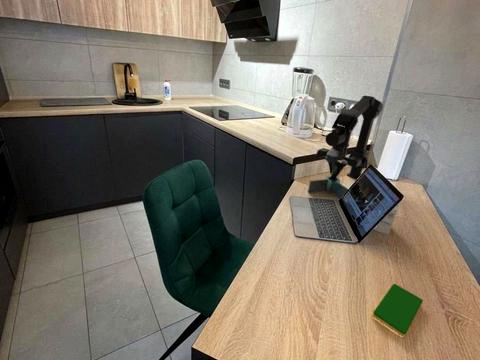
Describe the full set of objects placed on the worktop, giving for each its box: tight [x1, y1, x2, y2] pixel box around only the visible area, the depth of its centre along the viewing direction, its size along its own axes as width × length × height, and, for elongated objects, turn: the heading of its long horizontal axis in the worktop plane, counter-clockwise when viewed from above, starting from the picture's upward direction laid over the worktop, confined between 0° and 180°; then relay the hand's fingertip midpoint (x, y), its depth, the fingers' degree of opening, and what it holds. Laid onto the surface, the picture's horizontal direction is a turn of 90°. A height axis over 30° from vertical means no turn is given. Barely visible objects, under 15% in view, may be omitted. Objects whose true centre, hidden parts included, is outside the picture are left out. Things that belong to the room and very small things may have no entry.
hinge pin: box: [329, 160, 341, 179], centre depth 119 cm, size 3×3×8 cm
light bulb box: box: [364, 199, 399, 236], centre depth 97 cm, size 11×7×11 cm, turn 58°
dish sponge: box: [371, 283, 424, 338], centre depth 65 cm, size 7×14×2 cm, turn 133°
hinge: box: [307, 175, 350, 199], centre depth 119 cm, size 14×17×6 cm
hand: (334, 174), depth 120 cm, fingers closed on hinge pin, 3 cm apart
